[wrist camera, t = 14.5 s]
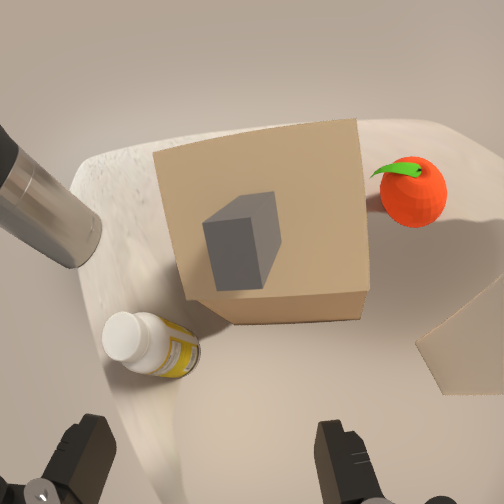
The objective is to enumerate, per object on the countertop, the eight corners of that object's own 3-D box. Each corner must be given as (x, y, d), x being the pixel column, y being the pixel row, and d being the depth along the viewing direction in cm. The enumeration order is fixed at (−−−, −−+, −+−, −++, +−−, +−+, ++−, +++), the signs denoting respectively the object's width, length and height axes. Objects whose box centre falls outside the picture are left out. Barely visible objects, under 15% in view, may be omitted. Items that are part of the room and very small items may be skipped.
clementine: (363, 231, 31) (366, 191, 25) (371, 178, 33) (373, 133, 27) (437, 245, 28) (456, 208, 22) (438, 190, 30) (452, 147, 24)
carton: (234, 325, 31) (189, 295, 22) (239, 234, 35) (204, 179, 26) (360, 319, 28) (368, 285, 19) (351, 223, 32) (350, 160, 23)
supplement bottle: (150, 338, 32) (90, 316, 24) (193, 320, 32) (139, 291, 24) (164, 385, 30) (102, 377, 21) (209, 368, 29) (156, 356, 21)
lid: (189, 296, 22) (144, 351, 16) (157, 151, 19) (89, 163, 13) (368, 285, 19) (383, 350, 13) (354, 119, 16) (373, 107, 10)
